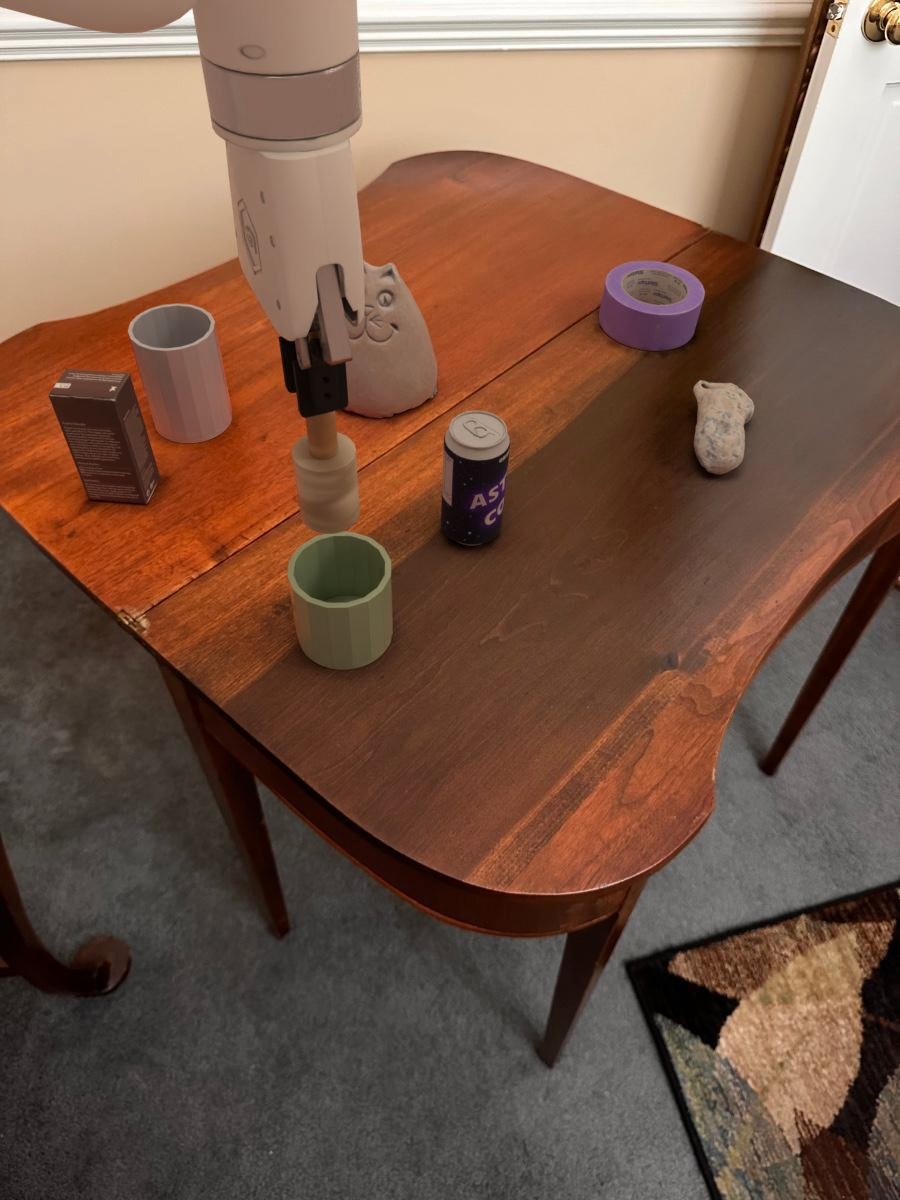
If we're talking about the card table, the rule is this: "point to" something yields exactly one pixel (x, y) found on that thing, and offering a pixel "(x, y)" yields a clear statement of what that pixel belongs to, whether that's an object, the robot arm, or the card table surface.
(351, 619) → the brush holder
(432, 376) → the sculpture
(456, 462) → the beverage can
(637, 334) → the tape roll
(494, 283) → the card table surface
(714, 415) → the decorative stone
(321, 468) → the bottle brush
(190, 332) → the steel cup
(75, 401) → the box
